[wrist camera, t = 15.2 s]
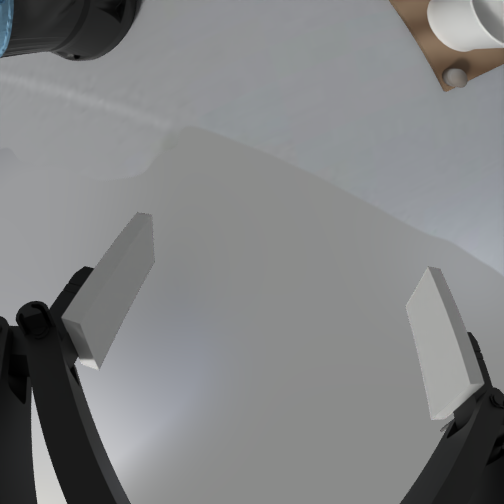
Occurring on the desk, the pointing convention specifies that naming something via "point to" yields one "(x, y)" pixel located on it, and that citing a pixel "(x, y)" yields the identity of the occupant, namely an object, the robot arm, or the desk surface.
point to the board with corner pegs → (445, 48)
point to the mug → (467, 23)
